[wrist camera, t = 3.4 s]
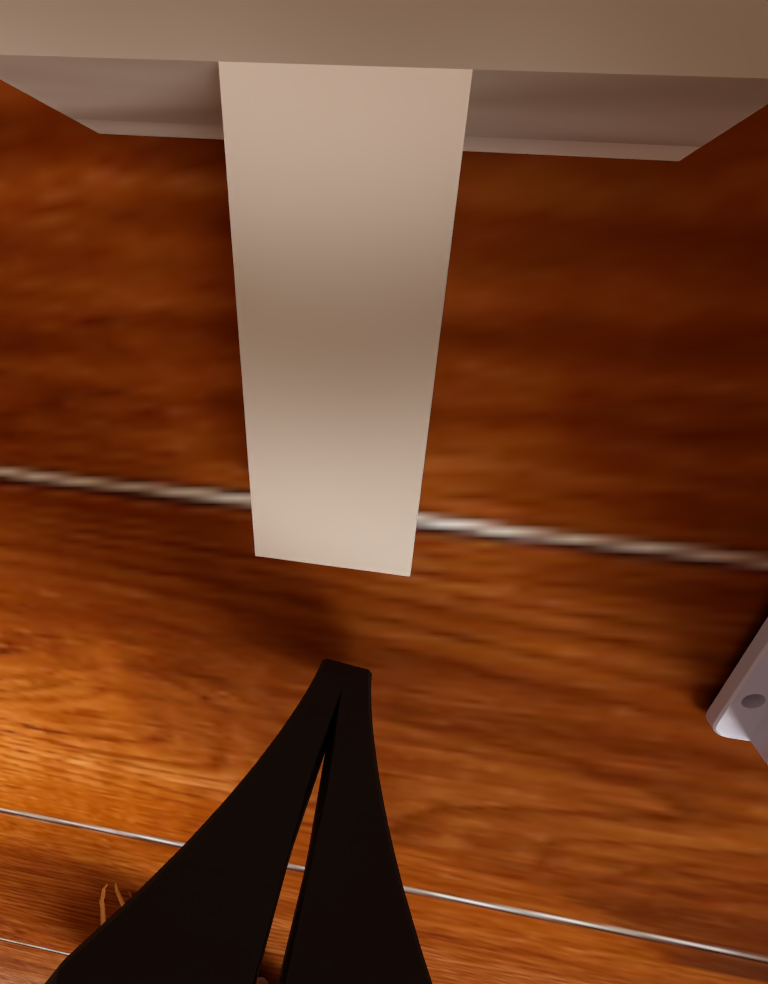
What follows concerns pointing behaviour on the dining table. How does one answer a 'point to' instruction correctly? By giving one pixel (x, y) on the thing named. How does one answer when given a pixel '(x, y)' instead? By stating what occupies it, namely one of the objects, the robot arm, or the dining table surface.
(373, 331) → the drawer with block handle
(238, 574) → the dining table surface
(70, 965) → the robot arm
